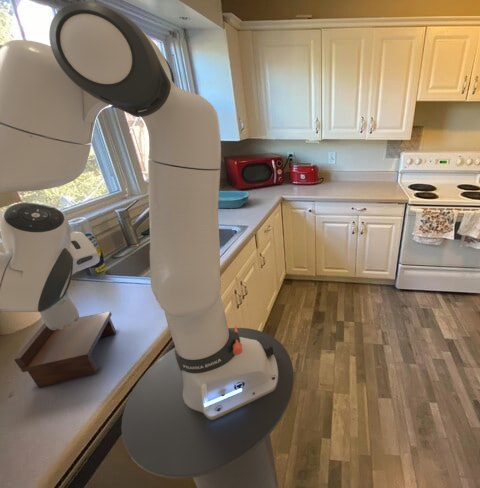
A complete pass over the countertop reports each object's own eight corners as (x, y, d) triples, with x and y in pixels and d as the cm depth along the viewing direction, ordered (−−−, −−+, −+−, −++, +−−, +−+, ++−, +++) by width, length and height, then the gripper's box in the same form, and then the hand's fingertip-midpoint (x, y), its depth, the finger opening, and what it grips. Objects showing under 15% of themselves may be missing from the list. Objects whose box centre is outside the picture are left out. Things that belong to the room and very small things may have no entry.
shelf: (118, 329, 86) (107, 303, 81) (97, 374, 71) (82, 345, 67) (67, 340, 82) (52, 312, 78) (34, 389, 68) (13, 359, 63)
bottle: (41, 329, 68) (-2, 257, 59) (71, 312, 74) (36, 244, 65) (59, 336, 66) (17, 262, 57) (88, 318, 72) (55, 248, 63)
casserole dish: (192, 209, 189) (189, 199, 186) (207, 199, 209) (205, 190, 206) (244, 210, 186) (243, 199, 183) (255, 200, 206) (253, 190, 203)
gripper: (-27, 297, 48) (-13, 322, 57) (106, 250, 64) (101, 275, 73) (-48, 268, 48) (-31, 297, 57) (89, 229, 64) (87, 256, 73)
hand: (44, 285), depth 65 cm, fingers closed on bottle, 6 cm apart
